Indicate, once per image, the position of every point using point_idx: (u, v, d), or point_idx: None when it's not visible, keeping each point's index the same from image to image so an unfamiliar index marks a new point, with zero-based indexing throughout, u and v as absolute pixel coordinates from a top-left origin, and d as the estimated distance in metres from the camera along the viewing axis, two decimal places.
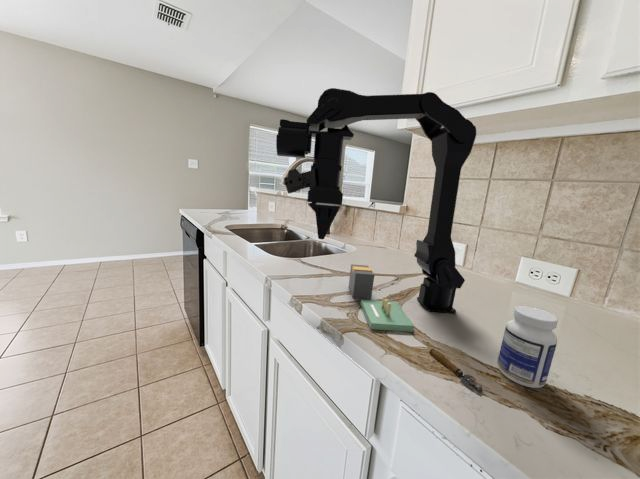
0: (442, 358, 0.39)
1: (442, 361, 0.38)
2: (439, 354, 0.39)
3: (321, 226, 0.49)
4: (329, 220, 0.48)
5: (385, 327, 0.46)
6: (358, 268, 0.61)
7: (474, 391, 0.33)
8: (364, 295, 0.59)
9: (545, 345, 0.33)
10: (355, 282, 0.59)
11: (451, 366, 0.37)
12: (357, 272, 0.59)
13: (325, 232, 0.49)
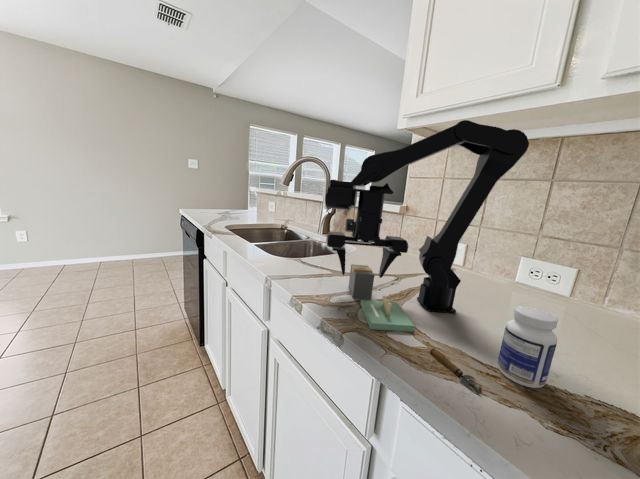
0: (442, 358, 0.39)
1: (442, 361, 0.38)
2: (439, 354, 0.39)
3: (340, 263, 0.61)
4: (339, 259, 0.60)
5: (385, 327, 0.46)
6: (358, 268, 0.61)
7: (473, 391, 0.33)
8: (364, 295, 0.59)
9: (545, 345, 0.33)
10: (355, 282, 0.59)
11: (451, 366, 0.37)
12: (357, 272, 0.59)
13: (341, 269, 0.61)
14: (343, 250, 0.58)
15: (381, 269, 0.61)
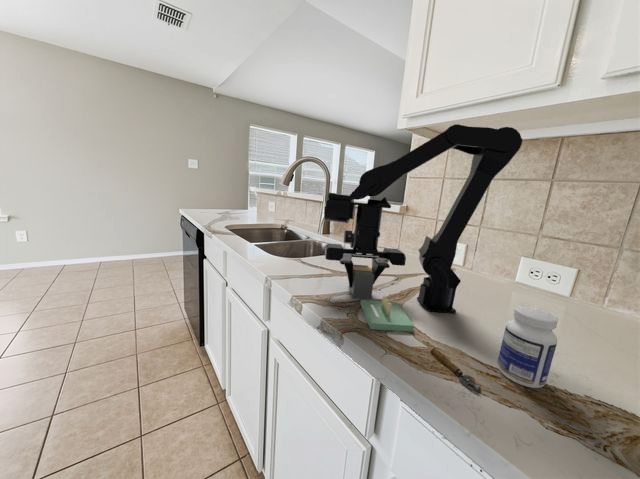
0: (443, 358, 0.39)
1: (442, 361, 0.38)
2: (440, 354, 0.39)
3: (347, 276, 0.62)
4: (347, 272, 0.61)
5: (385, 327, 0.46)
6: (358, 268, 0.61)
7: (472, 391, 0.33)
8: (364, 295, 0.59)
9: (545, 345, 0.33)
10: (355, 282, 0.59)
11: (451, 366, 0.37)
12: (357, 272, 0.59)
13: None
14: (351, 264, 0.58)
15: None
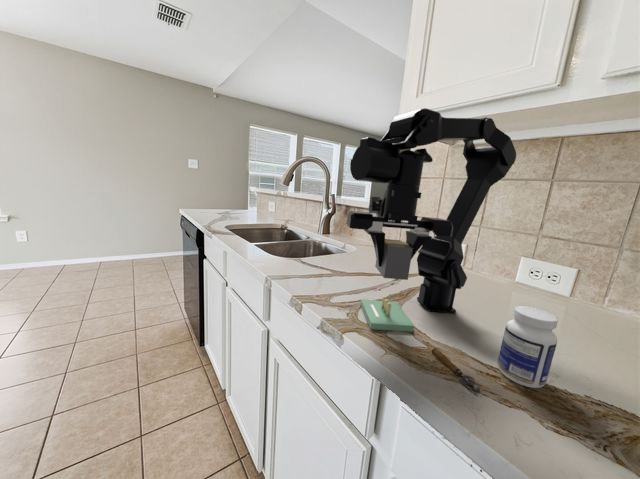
0: (443, 358, 0.39)
1: (443, 361, 0.38)
2: (440, 354, 0.39)
3: (376, 252, 0.49)
4: (376, 246, 0.47)
5: (385, 327, 0.46)
6: (390, 241, 0.48)
7: (471, 391, 0.33)
8: (398, 276, 0.46)
9: (545, 345, 0.33)
10: (388, 258, 0.46)
11: (451, 366, 0.37)
12: (390, 245, 0.46)
13: (378, 259, 0.48)
14: (382, 234, 0.45)
15: None
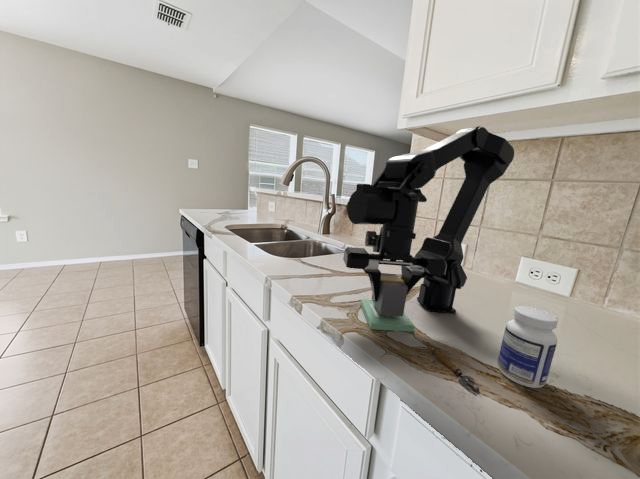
0: (443, 357, 0.39)
1: (443, 360, 0.38)
2: (441, 353, 0.39)
3: (372, 287, 0.50)
4: (372, 283, 0.49)
5: (385, 327, 0.46)
6: (386, 278, 0.49)
7: (470, 391, 0.33)
8: (394, 313, 0.47)
9: (545, 345, 0.33)
10: (383, 296, 0.47)
11: (451, 365, 0.37)
12: (386, 283, 0.47)
13: (374, 295, 0.50)
14: (378, 273, 0.46)
15: None
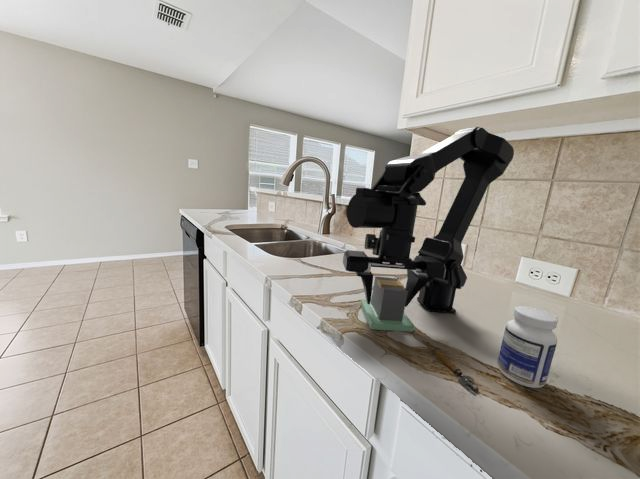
0: (443, 357, 0.39)
1: (443, 360, 0.38)
2: (441, 354, 0.39)
3: (364, 290, 0.50)
4: (365, 286, 0.49)
5: (385, 327, 0.46)
6: (386, 282, 0.50)
7: (469, 391, 0.33)
8: (393, 317, 0.48)
9: (545, 345, 0.33)
10: (383, 300, 0.47)
11: (451, 365, 0.37)
12: (386, 288, 0.47)
13: (366, 297, 0.50)
14: (370, 276, 0.46)
15: None
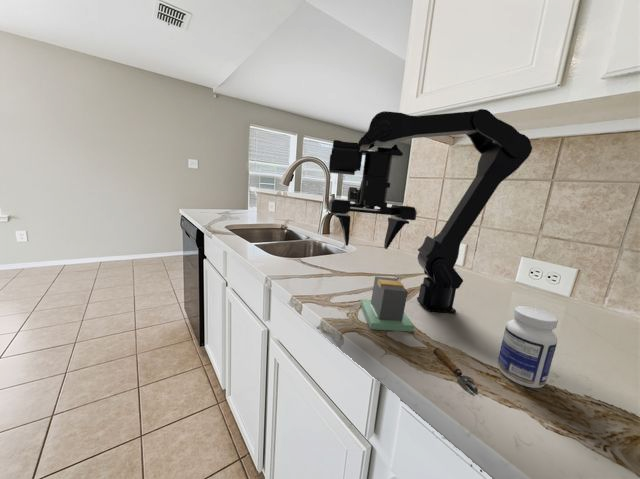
0: (444, 357, 0.39)
1: (444, 360, 0.39)
2: (442, 353, 0.39)
3: (343, 233, 0.57)
4: (343, 228, 0.55)
5: (385, 327, 0.46)
6: (386, 282, 0.50)
7: (468, 390, 0.33)
8: (393, 317, 0.48)
9: (545, 345, 0.33)
10: (383, 300, 0.47)
11: (451, 365, 0.37)
12: (386, 288, 0.47)
13: (345, 239, 0.56)
14: (348, 217, 0.53)
15: (387, 239, 0.57)
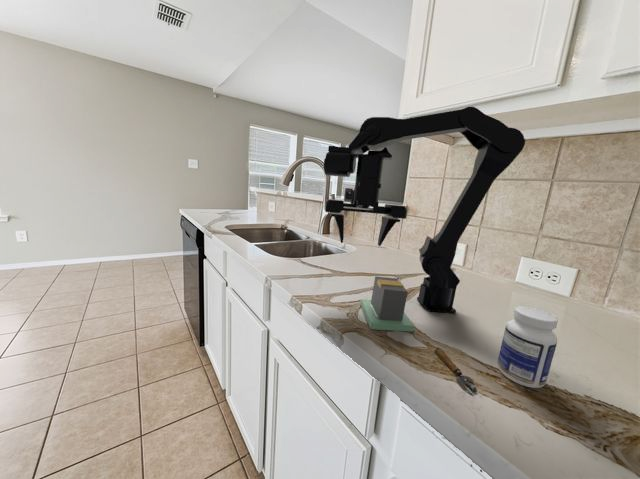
0: (445, 357, 0.39)
1: (444, 360, 0.39)
2: (443, 353, 0.39)
3: None
4: (338, 226, 0.59)
5: (385, 327, 0.46)
6: (386, 282, 0.50)
7: (467, 390, 0.33)
8: (393, 317, 0.48)
9: (545, 345, 0.33)
10: (383, 300, 0.47)
11: (451, 365, 0.37)
12: (386, 288, 0.47)
13: (340, 236, 0.60)
14: (341, 215, 0.57)
15: (380, 237, 0.61)
